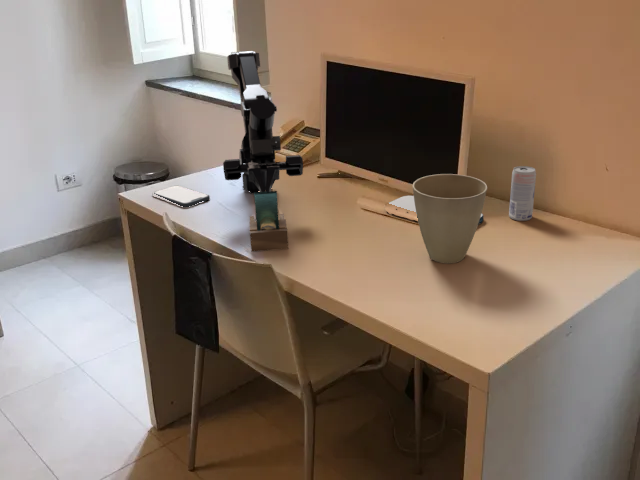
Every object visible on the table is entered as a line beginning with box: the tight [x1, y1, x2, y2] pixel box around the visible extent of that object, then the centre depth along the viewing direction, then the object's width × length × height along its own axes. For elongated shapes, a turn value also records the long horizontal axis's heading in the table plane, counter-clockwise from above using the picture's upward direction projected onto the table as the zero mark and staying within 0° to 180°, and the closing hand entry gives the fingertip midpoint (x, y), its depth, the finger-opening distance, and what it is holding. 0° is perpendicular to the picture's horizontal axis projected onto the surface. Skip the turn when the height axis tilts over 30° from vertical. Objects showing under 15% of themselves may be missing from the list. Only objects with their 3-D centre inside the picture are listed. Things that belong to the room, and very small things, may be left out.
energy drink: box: [508, 165, 537, 222], centre depth 161 cm, size 5×5×12 cm
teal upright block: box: [253, 190, 280, 231], centre depth 157 cm, size 8×5×9 cm, turn 6°
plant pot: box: [412, 173, 488, 264], centre depth 141 cm, size 15×15×16 cm
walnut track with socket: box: [249, 213, 289, 252], centre depth 158 cm, size 17×8×4 cm, turn 6°
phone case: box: [153, 185, 211, 208], centre depth 185 cm, size 9×2×16 cm
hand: (265, 199), depth 160 cm, fingers closed, pressing on teal upright block
